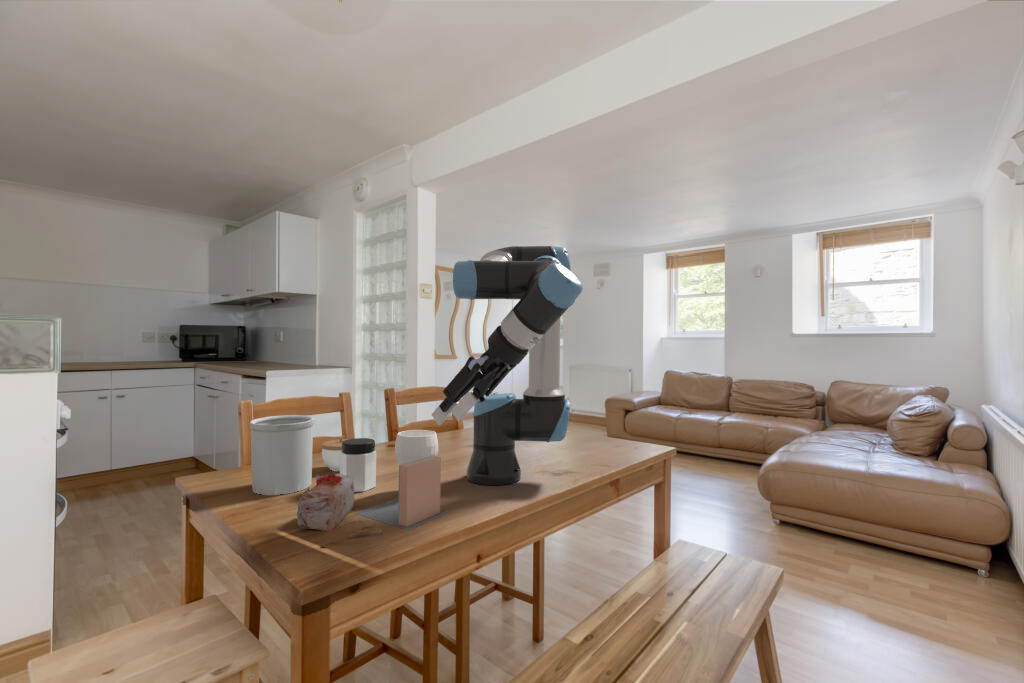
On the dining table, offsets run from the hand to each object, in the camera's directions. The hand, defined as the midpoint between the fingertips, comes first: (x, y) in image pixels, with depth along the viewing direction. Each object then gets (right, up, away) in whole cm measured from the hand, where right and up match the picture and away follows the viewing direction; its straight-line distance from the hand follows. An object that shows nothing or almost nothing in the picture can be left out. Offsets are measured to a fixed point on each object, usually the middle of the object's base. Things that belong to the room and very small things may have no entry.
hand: (446, 417), depth 96 cm
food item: (-25, -22, +2) cm, 34 cm away
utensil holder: (-46, -22, +25) cm, 57 cm away
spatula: (-17, -22, -7) cm, 29 cm away
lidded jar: (-37, -22, +44) cm, 62 cm away
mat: (-11, -22, +6) cm, 25 cm away
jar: (-26, -22, +26) cm, 43 cm away
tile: (-6, -22, +3) cm, 23 cm away
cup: (-11, -23, +21) cm, 33 cm away
